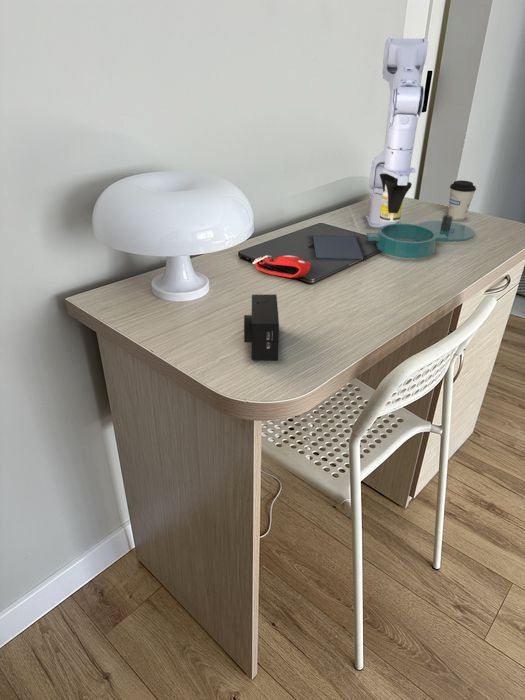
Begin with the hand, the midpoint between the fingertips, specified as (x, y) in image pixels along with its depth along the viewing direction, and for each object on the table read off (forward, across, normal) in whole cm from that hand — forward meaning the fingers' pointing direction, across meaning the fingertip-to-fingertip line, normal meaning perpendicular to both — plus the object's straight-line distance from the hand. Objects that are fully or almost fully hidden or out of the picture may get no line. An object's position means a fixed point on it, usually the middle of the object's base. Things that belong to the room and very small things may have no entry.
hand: (390, 209), depth 119 cm
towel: (+10, 0, +12) cm, 15 cm away
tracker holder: (+10, -14, +25) cm, 31 cm away
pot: (+10, 0, -5) cm, 11 cm away
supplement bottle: (+3, 0, 0) cm, 3 cm away
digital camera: (+10, -45, +30) cm, 55 cm away
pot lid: (+9, +12, -18) cm, 23 cm away
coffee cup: (+10, +25, -25) cm, 36 cm away
